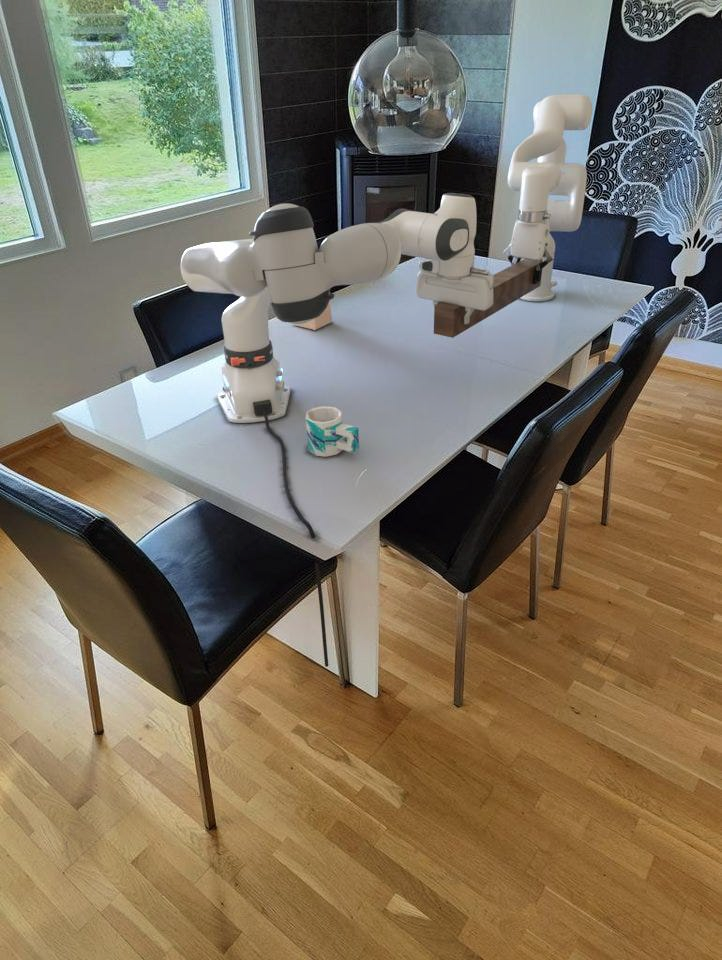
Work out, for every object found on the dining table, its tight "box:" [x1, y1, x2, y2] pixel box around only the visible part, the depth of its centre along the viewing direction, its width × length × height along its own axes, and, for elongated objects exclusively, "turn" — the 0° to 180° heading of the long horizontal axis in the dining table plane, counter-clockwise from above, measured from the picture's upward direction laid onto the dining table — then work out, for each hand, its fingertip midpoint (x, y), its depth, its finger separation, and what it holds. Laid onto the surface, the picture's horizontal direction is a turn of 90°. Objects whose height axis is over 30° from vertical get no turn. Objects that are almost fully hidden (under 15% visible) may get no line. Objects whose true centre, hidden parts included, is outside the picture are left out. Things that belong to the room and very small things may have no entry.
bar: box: [433, 258, 542, 339], centre depth 181 cm, size 50×6×7 cm, turn 143°
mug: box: [305, 405, 360, 458], centre depth 147 cm, size 8×12×8 cm
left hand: (452, 320), depth 168 cm, fingers closed on bar, 5 cm apart
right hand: (525, 280), depth 196 cm, fingers closed on bar, 5 cm apart
